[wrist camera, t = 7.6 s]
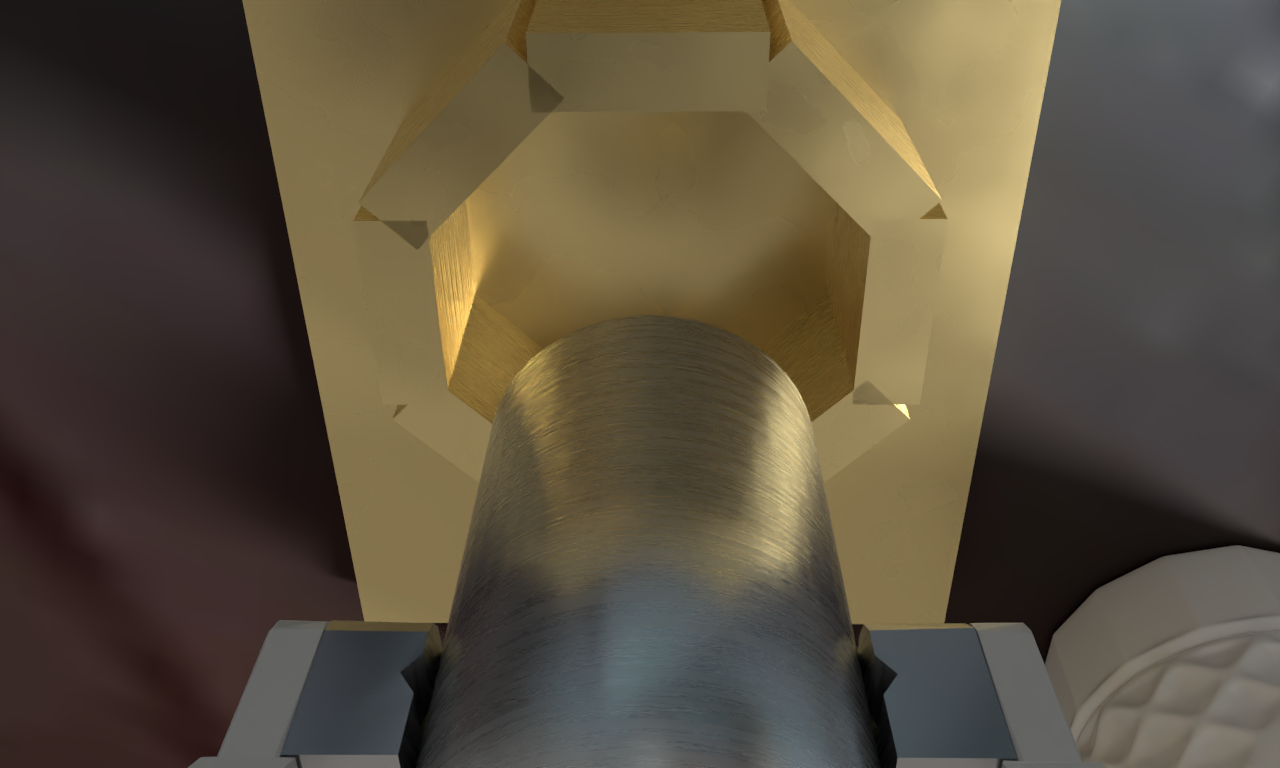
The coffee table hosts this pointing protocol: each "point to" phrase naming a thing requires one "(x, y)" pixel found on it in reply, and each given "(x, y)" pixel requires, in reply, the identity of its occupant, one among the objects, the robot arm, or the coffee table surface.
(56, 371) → the coffee table surface
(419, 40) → the brass valve fitting
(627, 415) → the silver metal cylinder
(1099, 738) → the white cup
